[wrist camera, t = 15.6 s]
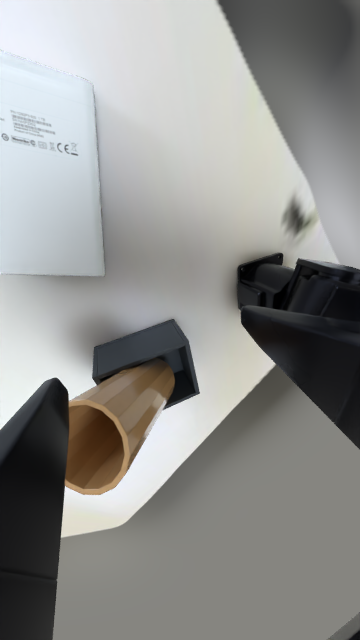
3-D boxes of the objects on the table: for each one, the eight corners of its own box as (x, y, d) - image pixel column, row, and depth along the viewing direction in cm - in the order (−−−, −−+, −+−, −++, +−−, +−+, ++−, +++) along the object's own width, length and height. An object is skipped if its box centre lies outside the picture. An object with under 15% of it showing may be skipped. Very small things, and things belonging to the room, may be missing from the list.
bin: (173, 318, 24) (188, 340, 20) (185, 368, 29) (199, 393, 25) (93, 347, 22) (91, 378, 18) (121, 394, 27) (124, 427, 23)
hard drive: (0, 269, 16) (-71, 39, 10) (105, 272, 19) (94, 93, 13) (-10, 274, 15) (-96, 14, 9) (105, 276, 18) (93, 80, 12)
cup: (171, 354, 24) (121, 396, 11) (178, 400, 24) (135, 496, 11) (128, 359, 25) (38, 403, 12) (134, 404, 25) (50, 494, 12)
